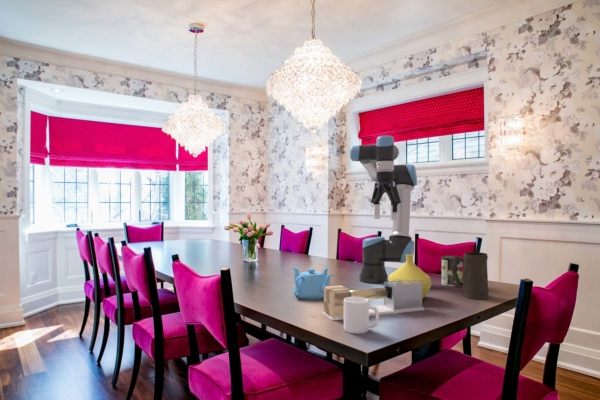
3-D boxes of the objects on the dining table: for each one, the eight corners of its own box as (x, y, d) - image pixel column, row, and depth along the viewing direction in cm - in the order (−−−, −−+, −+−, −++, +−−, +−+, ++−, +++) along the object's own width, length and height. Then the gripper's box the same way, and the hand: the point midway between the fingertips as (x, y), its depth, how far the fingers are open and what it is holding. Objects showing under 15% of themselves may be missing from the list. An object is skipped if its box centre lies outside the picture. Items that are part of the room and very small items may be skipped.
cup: (349, 324, 138) (349, 295, 138) (382, 330, 132) (382, 299, 132) (339, 331, 131) (339, 300, 131) (375, 337, 125) (375, 305, 125)
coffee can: (466, 284, 203) (466, 257, 203) (456, 287, 196) (456, 259, 196) (447, 281, 211) (447, 255, 211) (437, 284, 204) (437, 256, 204)
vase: (408, 306, 162) (408, 259, 162) (379, 296, 178) (379, 253, 178) (440, 300, 171) (440, 256, 171) (410, 291, 187) (410, 251, 187)
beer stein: (489, 295, 181) (486, 251, 181) (492, 300, 171) (488, 254, 171) (453, 294, 186) (450, 252, 186) (454, 300, 176) (450, 254, 176)
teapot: (328, 291, 188) (328, 265, 188) (333, 301, 170) (333, 272, 170) (292, 291, 188) (292, 265, 188) (293, 301, 169) (293, 272, 169)
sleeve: (383, 307, 159) (383, 281, 159) (411, 305, 164) (411, 279, 164) (393, 312, 153) (393, 285, 152) (422, 309, 157) (422, 282, 157)
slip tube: (381, 296, 157) (381, 286, 157) (387, 299, 153) (387, 288, 153) (335, 301, 150) (335, 290, 150) (340, 303, 146) (340, 292, 146)
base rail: (322, 313, 151) (322, 311, 151) (410, 304, 165) (410, 302, 165) (331, 320, 142) (331, 318, 142) (424, 310, 156) (424, 307, 156)
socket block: (323, 314, 150) (323, 286, 150) (341, 312, 153) (341, 285, 153) (331, 319, 144) (331, 290, 143) (349, 317, 146) (349, 289, 146)
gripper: (363, 172, 185) (363, 218, 185) (393, 169, 162) (393, 221, 162) (377, 173, 188) (377, 218, 188) (409, 169, 164) (409, 220, 164)
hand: (385, 219), depth 175 cm, fingers open, 13 cm apart
